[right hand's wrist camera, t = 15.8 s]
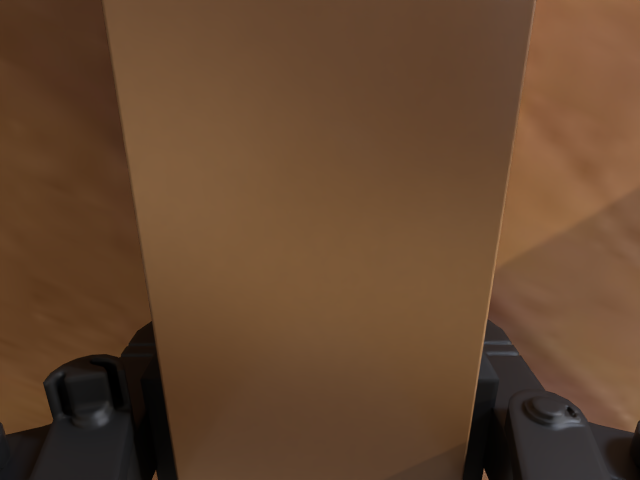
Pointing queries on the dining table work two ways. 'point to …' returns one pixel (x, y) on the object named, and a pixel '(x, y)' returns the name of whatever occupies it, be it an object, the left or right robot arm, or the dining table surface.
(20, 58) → the dining table surface
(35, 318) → the dining table surface
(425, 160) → the post
